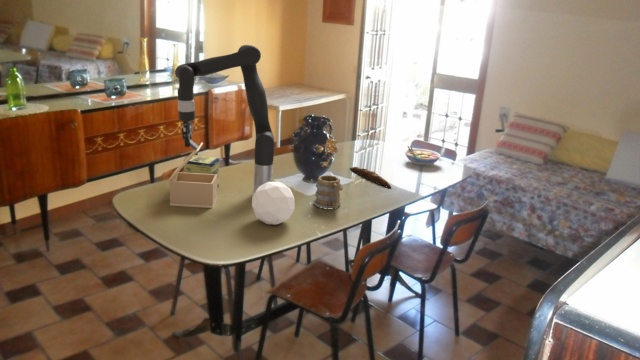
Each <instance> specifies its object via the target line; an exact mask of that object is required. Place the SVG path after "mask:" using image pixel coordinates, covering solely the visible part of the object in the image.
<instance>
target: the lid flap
mask: <svg viewBox="0 0 640 360" xmlns="http://www.w3.org/2000/svg"><path fill="white" fill-rule="evenodd" d="M185 136H186V135H185ZM182 140H183V141H184V142H185V140H184V139H183V138H182ZM203 145H204V143H203V142H200V144H199V145H198V144H197V143H196V142H195V141H193V139H192V140H191V139H190V147H191V148H192V149H193V151H192V152H191V153H190V154H189V155H188V156H187V157H186V158H185V159H186V160H185V159H184V160H185V161H184V160H183V162H181V164H179V166H178V167H177V168H176V169H175V170H174V172H173V173H172V174H171V175H170V177H169V179H168V182H170V180H171V179H172V178H173V177H174V176H175V175H176V174H177V173H178V172H180V171H181V170H183V169H184V166H185V165H186V163H187V162H188V161H189V160H190V159H191V158H192V157H193V156H194V155H197V153H198V152H199V151H200V149H201V148H202V146H203Z"/></svg>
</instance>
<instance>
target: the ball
mask: <svg viewBox="0 0 640 360" xmlns="http://www.w3.org/2000/svg"><path fill="white" fill-rule="evenodd" d="M253 193H254V192H253ZM295 205H296V204H295V197H294V194H293V192H292V190H291V188H290V187H288V185H287V186H286V185H285V184H284V183H282V182H281V181H272V182H267V183H265V184H263V185H261V186H259V187H258V189H257V190H256V192H255V193H254V195H253V194H252V196H251V206H252V207H251V208H252V210H253V211H254V212H253V213H254V215H255V218H257V219H258V220H260V221H261V222H263V223H264V224H266V225H276V226H277V225H279V224H281V223H283V222H285V221H287V220H289V219H290V217H291V215H292V214H293V213H294V211H295V207H296V206H295Z"/></svg>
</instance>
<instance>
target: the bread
mask: <svg viewBox="0 0 640 360" xmlns="http://www.w3.org/2000/svg"><path fill="white" fill-rule="evenodd" d="M349 170H351V171H352V172H353V173H355V172H356V174H357V173H358V174H357V175H359V176H361V177H363V176H364V177H363V178H365V179H367V178H368V179H367V180H369V179H370V181H371V180H372V181H371V182H373V181H374V182H373V183H376V182H377V183H376V184H378V183H379V184H378V185H380V184H381V185H380V186H382V185H384V186H383V187H385V186H387V187H390V188H392V186H391V184H390V183H389V182H388V181H387V180H386V179H385V178H383V177H382V176H379V174H378V173H376V172H374V171H372V170H369V169H366V168H361V167H358V166H353V167H350V168H349ZM387 187H386V188H387ZM390 188H389V189H390Z"/></svg>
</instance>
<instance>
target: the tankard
mask: <svg viewBox="0 0 640 360" xmlns="http://www.w3.org/2000/svg"><path fill="white" fill-rule="evenodd" d="M315 188H316V191H315V194H314V195H315V197H316V198H315V199H314V200H313V201H312V202H313V203H314V204H315V205H316V206H317V207H322V208H327V209H328V208H337V209H339V207H340V206H341V205H340V204H342V203H341V198H340V196H341V193H340V191H343V190H344V188H343V185H342V183H341V179H340V178H338V176H334V175H329V174H326V175H320V176H319V177H318V178H317V181H316V184H315ZM313 203H312V204H313ZM314 204H313V205H314ZM315 205H314V206H315ZM339 205H340V206H339ZM316 206H315V207H316ZM338 206H339V207H338ZM317 207H316V208H317Z"/></svg>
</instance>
